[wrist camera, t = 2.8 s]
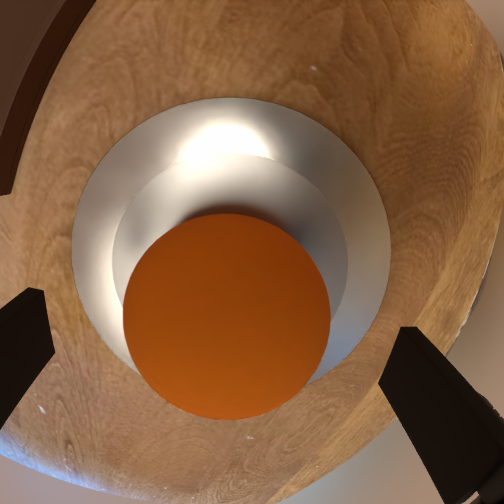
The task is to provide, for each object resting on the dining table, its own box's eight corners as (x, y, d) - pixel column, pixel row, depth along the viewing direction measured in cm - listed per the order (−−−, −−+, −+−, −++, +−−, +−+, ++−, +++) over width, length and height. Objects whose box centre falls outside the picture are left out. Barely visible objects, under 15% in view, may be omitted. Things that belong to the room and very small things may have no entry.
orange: (319, 211, 15) (397, 267, 7) (291, 348, 17) (320, 460, 9) (155, 192, 14) (74, 231, 6) (152, 335, 16) (109, 442, 9)
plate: (409, 136, 15) (417, 136, 14) (341, 398, 20) (344, 406, 19) (86, 96, 13) (78, 93, 12) (92, 373, 18) (88, 381, 17)
